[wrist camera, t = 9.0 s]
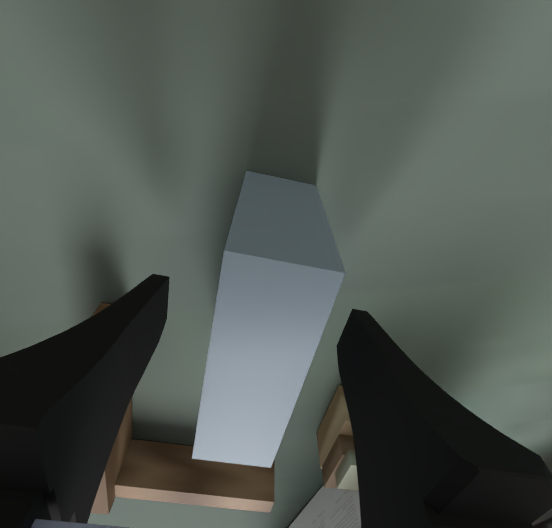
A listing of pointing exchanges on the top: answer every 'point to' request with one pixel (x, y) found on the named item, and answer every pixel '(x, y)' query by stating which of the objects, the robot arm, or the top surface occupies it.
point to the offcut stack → (337, 446)
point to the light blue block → (266, 319)
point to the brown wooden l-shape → (178, 475)
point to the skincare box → (331, 510)
